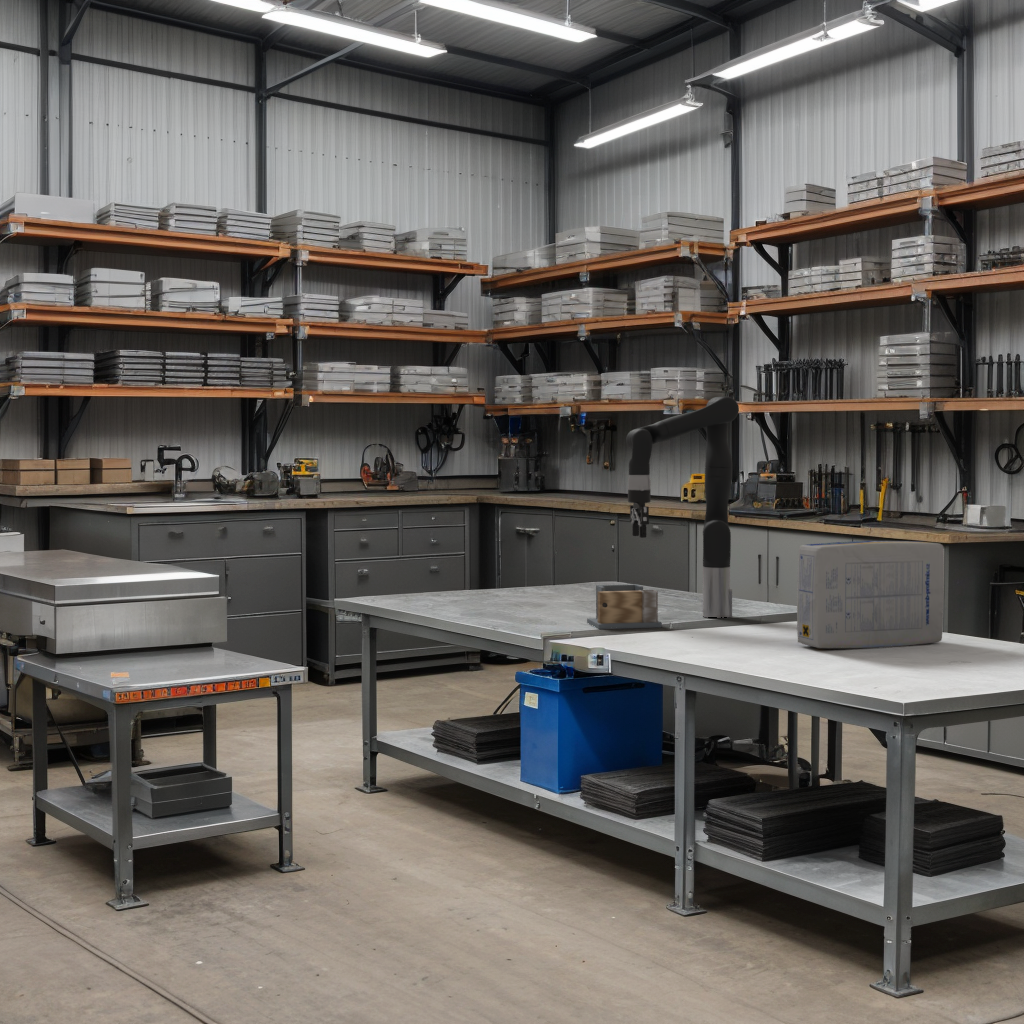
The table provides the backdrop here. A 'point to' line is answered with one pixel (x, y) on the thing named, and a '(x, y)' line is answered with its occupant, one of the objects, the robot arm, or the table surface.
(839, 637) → the construction material bag
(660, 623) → the grey corner bracket
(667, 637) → the table surface
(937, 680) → the table surface
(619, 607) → the door
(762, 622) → the table surface
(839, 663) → the table surface
